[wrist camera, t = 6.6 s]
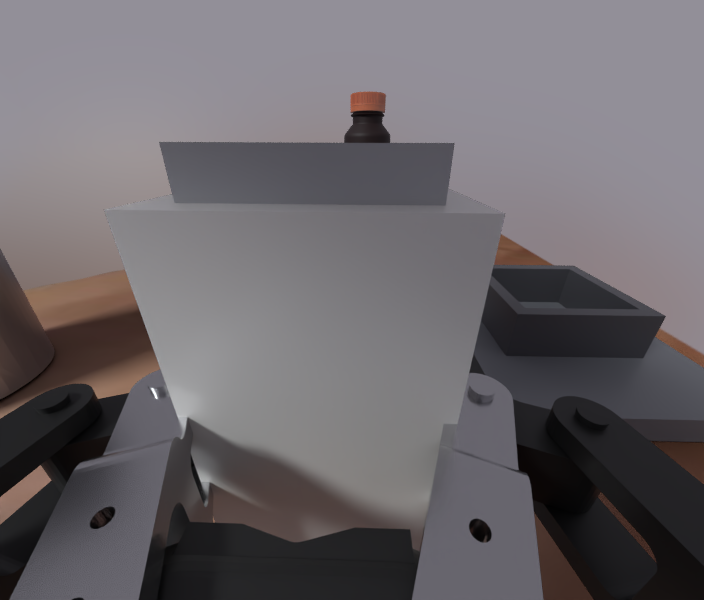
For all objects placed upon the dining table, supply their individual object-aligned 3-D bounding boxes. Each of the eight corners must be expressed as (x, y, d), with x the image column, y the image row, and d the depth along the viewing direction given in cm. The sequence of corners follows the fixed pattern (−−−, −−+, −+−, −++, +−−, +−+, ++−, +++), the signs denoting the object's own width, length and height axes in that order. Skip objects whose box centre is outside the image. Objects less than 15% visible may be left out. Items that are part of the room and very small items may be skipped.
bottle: (337, 237, 50) (334, 93, 41) (357, 229, 55) (359, 99, 46) (374, 243, 47) (379, 88, 38) (391, 234, 52) (400, 95, 43)
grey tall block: (245, 607, 9) (79, 140, 4) (284, 455, 14) (239, 146, 8) (414, 614, 9) (521, 142, 3) (396, 458, 14) (429, 146, 8)
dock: (769, 443, 15) (833, 372, 13) (484, 436, 15) (504, 366, 13) (557, 291, 31) (571, 248, 29) (421, 289, 31) (426, 247, 29)
